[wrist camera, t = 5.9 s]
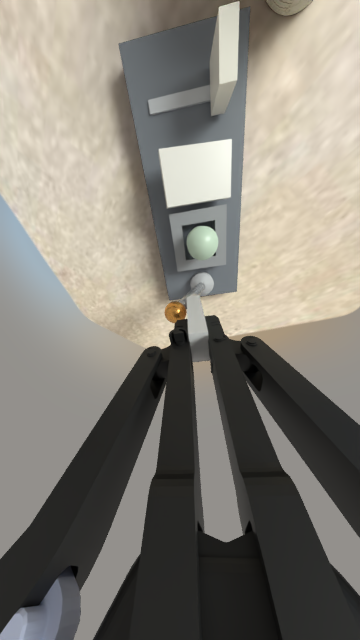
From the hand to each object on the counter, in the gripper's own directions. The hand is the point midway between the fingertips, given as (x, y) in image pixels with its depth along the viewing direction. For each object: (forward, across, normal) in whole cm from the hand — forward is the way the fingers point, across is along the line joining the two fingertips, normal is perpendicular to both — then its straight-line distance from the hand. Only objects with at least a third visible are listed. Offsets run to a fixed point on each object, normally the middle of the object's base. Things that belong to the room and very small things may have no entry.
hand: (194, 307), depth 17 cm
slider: (+6, +4, +17) cm, 19 cm away
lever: (+6, +2, 0) cm, 6 cm away
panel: (+9, +2, +9) cm, 13 cm away
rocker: (+5, +2, +11) cm, 13 cm away
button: (+5, +2, +6) cm, 8 cm away
